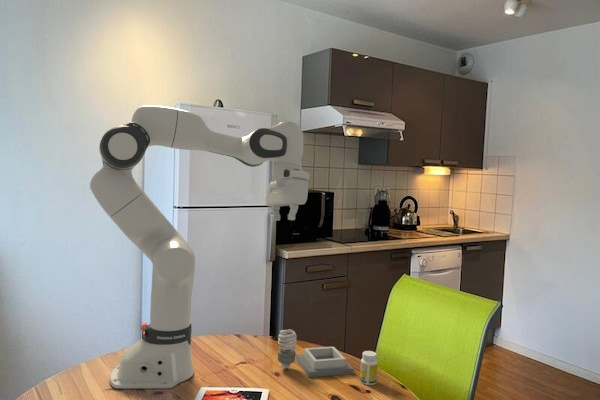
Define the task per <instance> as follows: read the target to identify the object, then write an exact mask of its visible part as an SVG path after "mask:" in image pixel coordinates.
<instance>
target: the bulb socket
mask: <svg viewBox="0 0 600 400" xmlns="http://www.w3.org/2000/svg"><path fill="white" fill-rule="evenodd" d="M295 360H296V361H297V363H298V365H299V366H300V367H301V368H302V369H303V372H304V373H305V374H306V376H307V377H308V378H318V377H319V378H320V377H328V376H331V377H332V376H341V375H350V374H354V367H353V366H352V365H351V364H350V363H348V361H347V359H346V358H345V356H343V354H342V353H341V352H340V351H339V350H338V349H337V348H336V347H335V346H322V347H308V348H307V347H306V348H303V354H296V355H295Z"/></svg>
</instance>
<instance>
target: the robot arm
mask: <svg viewBox="0 0 600 400" xmlns="http://www.w3.org/2000/svg"><path fill="white" fill-rule="evenodd" d="M303 133H304V132H303V129H302V128H301V126H299V125H298V124H296V123H294V122H290V121H281V122H279V123H277V124H276V125H275V124H274V125H273V126H269V127H263V128H257V129H255V130H254V131H252V132H251V133H249V134H248V135H245V136H242V137H237V136H232V135H229V134H228V135H227V134H225V133H220V132H217V131H214V130H212V129H210V128H209V127H208V125H206V122H205V120H204V119H203V118H202V116H200V115H199V114H196V113H194V112H191V111H189V110H185V109H180V108H176V107H170V106H163V105H148V104H146V105H141V106H139V107H138V108H137V109H136V110H135V111H134V113H133V115H132V117H131V122H127V123H125V124H122V125H117V126H115V127H112V128H110V129H108V130H107V131H106V132H105V133H104V134H103V135H102V137H101V139H100V142H99V146H98V147H99V154H100V158H101V161H102V167H101V168H100V170H98V171H96V172H95V174H93V176H92V178H91V180H90V182H89V187H90V188H89V189H90V190H91V193H92V194H93V196H94V197H95V199H96V201H97V202H98V205H100V207H101V208H102V210H103V211H104V212H105V213H106V214H107V216H108V217H109V218H110V219H111V220H112V221H113V223H114V224H115V225H116V226H117V227H118V228H119V230H121V232H122V233H123V234H124V235H125V236H126V237H127V238H128V239H129V241H131V243H133V244H134V245H135V246H136V247H137V248H138V250H140V251H141V252H142V253H143V254H144V255H145V256H146V258H148V259H149V260H150V261H151V264H152V273H151V274H152V275H151V291H150V309H149V310H150V312H149V314H150V315H149V316H150V317H149V324H148V323H147V322H142V324H141V326H140V330H141V338H140V339H139V340H138V341H136V342H135V343H134V344H132V345H131V346H129V347H128V348H126V350H124V352H123V353H122V356H121V358H120V362H119V364H118V365H116V366H115V367H114V368H113V369H112V370H111V372H110V377H109V383H110V385H111V386H112V388H114V389H172V388H174V387H175V386H177V385H178V384H180V383H182V382H185V381H187V380H188V379H191V377H193V375H194V374H195V368H194V365H193V360H192V352H191V351H192V350H191V344H192V343H191V342H192V337H193V328H192V327H193V326H192V322H191V309H192V294H193V286H194V278H195V266H196V257H195V254H194V251H193V249H192V248H191V246H190V245H189V244H188V242H187V241H186V239H184V237H183V236H182V235H181V234H180V233H179V232H178V230H177V229H176V228H175V226H173V224H172V223H171V222H170V221H169V220H168V219H167V217H166V216H165V215H164V214H163V213H162V211H161V210H160V209H159V208H158V206H157V205H156V204H155V203H154V202H153V200H151V198H150V197H149V196H148V195H147V194H146V192H145V191H144V190H143V189H142V187H140V186H139V184H138V183H137V181H136V180H135V179H134V177H133V171H132V170H133V169H134V168H135V167H136V166H137V165H139V163H140V162H141V161H142V160H143V157H144V156H145V153H146V151H147V149H148V148H149V147H151V146H152V147H153V146H161V147H165V148H169V149H170V148H171V149H177V150H184V151H185V150H187V151H201V152H207V153H214V154H218V155H222V156H227V157H231V158H233V159H236V160H238V161H239V162H240V163H242V164H243V165H245V166H248V167H251V168H253V167H254V168H255V167H258V166H261V165H262V164H263V163H265V162H268V161H271V162H272V163H273V164H272V165H273V166H272V176H271V177H272V178H271V179H272V180H271V182H270V183H269V184H268V187H267V191H266V197H265V203H266V206H267V207H271V212H272V214H273V215H272V220H273V221H276V222H277V221H281V214H280V209H281V207H288V206H289V208H290V209H289V213H287V220H289V221H295V220H296V214H297V213H298V209H299V205H300V206H301V205H305V204H306V202H307V200H308V194H309V182H308V181H309V180H310V176H311V175H310V172H308V171H305V170H303V164H302V157H303V154H304V134H303Z"/></svg>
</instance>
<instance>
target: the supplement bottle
mask: <svg viewBox="0 0 600 400" xmlns="http://www.w3.org/2000/svg"><path fill="white" fill-rule="evenodd" d="M377 355H378V354H377V353H376V352H375V351H372V350H364V351H363V352H362V358H361V359H360V373H359V382H360V383H361V384H363V385H365V386H366V385H367V386H374V385H376V384H377V381H378V363H379V362H378V359H377Z"/></svg>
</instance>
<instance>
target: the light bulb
mask: <svg viewBox="0 0 600 400" xmlns="http://www.w3.org/2000/svg"><path fill="white" fill-rule="evenodd" d="M297 338H298V337H297V334H296V332H295V331H294V330H293V329H290V328H289V329H282V330H279V334H278V338H277V340H278V342H277V344H278V345H279V346H278V351H277V360H278V362H279V363H280V364H281V367H282V368H283V369H285V370H287V369H289V368H290V367H291V365H292V364H294V363H295V362H296V361H295V360H296V355H297V354H296V346H297V341H298V340H297Z"/></svg>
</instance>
